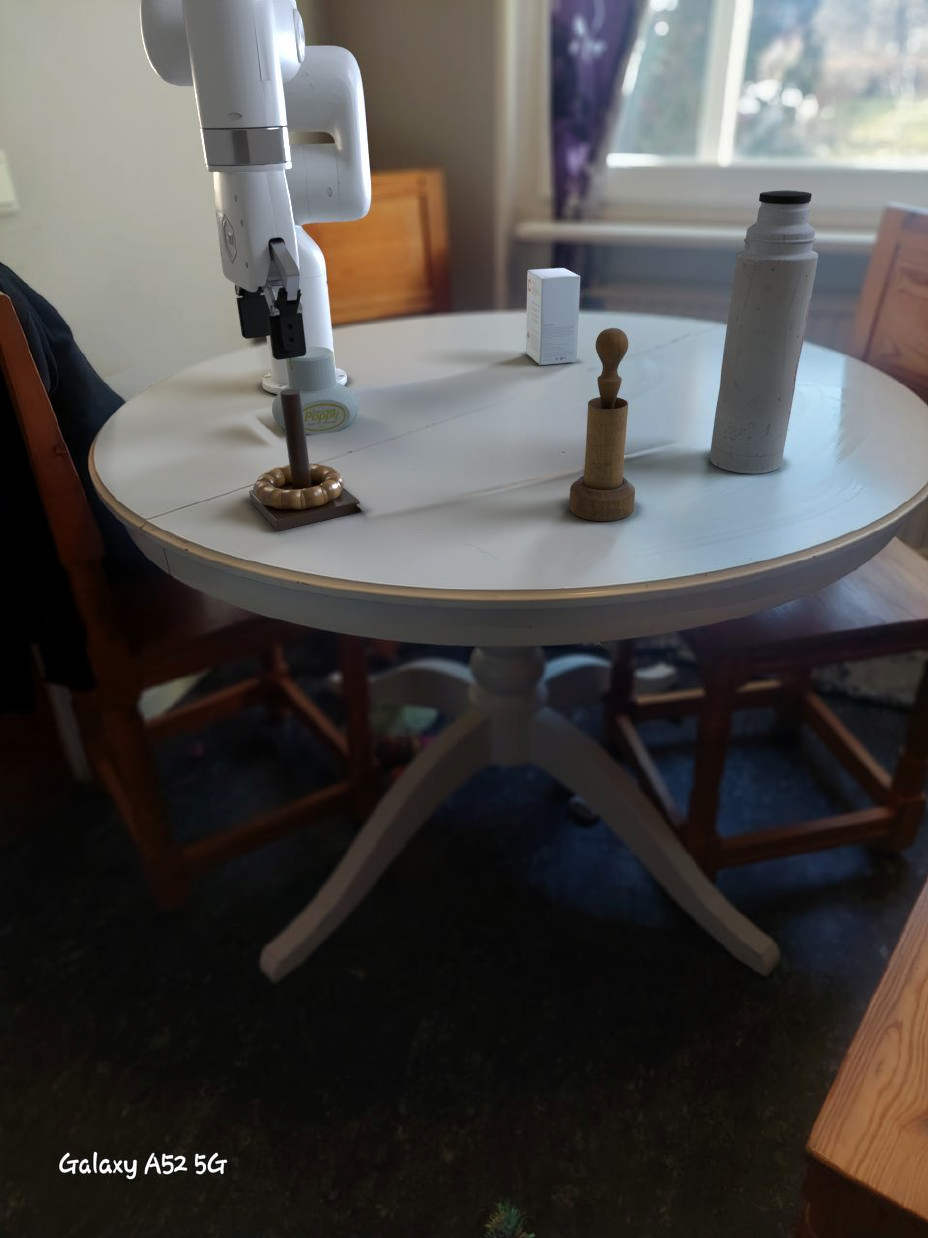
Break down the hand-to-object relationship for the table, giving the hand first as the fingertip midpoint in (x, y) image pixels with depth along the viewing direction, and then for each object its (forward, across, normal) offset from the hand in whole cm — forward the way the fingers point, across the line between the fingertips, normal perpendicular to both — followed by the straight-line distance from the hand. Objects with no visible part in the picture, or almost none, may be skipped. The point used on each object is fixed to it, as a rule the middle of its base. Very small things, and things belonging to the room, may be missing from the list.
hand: (273, 346), depth 86 cm
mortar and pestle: (+16, +21, +26) cm, 37 cm away
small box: (+16, -31, +55) cm, 65 cm away
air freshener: (+16, -18, +10) cm, 26 cm away
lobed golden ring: (+14, +3, 0) cm, 14 cm away
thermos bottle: (+16, +19, +48) cm, 54 cm away
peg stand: (+16, +4, 0) cm, 16 cm away
